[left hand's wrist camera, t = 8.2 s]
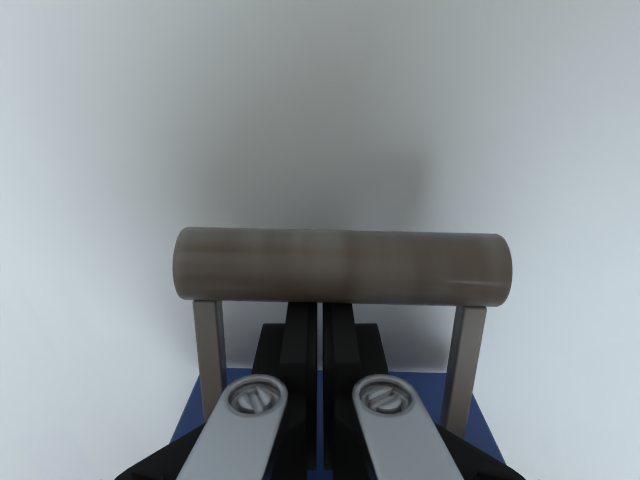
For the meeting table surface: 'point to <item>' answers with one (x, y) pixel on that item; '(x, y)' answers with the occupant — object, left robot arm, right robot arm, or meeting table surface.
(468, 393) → the drawer
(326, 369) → the left robot arm
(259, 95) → the meeting table surface
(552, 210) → the meeting table surface
